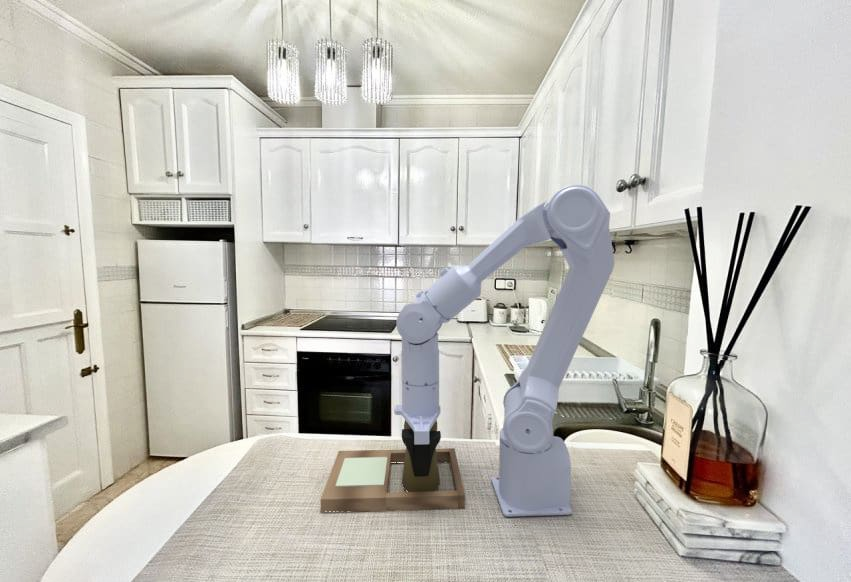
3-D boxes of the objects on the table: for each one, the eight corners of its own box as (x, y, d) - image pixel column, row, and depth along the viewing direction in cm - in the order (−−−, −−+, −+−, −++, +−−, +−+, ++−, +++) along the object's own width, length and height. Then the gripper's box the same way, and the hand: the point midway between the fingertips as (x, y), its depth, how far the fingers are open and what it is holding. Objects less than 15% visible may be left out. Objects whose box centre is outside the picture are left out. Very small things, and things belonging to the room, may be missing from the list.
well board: (454, 459, 61) (454, 447, 60) (464, 508, 49) (464, 493, 49) (339, 462, 60) (338, 449, 60) (320, 512, 48) (320, 498, 48)
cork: (436, 497, 51) (436, 426, 50) (397, 492, 52) (396, 422, 51) (442, 472, 57) (443, 408, 56) (407, 468, 58) (406, 405, 57)
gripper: (396, 365, 60) (397, 440, 61) (391, 399, 45) (392, 496, 47) (437, 364, 60) (437, 439, 62) (444, 398, 46) (444, 495, 47)
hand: (420, 464), depth 54 cm, fingers closed on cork, 5 cm apart
